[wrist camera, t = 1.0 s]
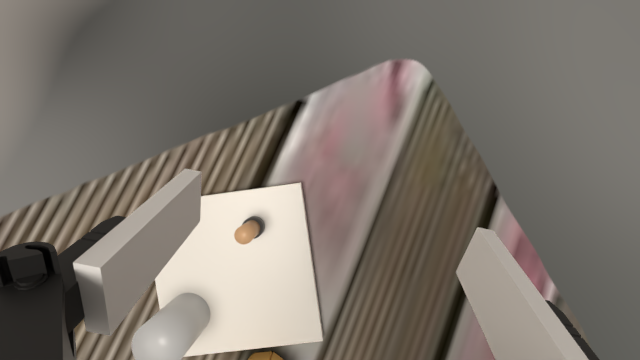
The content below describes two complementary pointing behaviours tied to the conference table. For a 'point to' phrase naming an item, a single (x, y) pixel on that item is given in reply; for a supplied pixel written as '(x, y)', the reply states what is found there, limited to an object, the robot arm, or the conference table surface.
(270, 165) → the conference table surface
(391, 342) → the conference table surface
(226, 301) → the plate
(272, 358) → the wire cap
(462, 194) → the conference table surface
